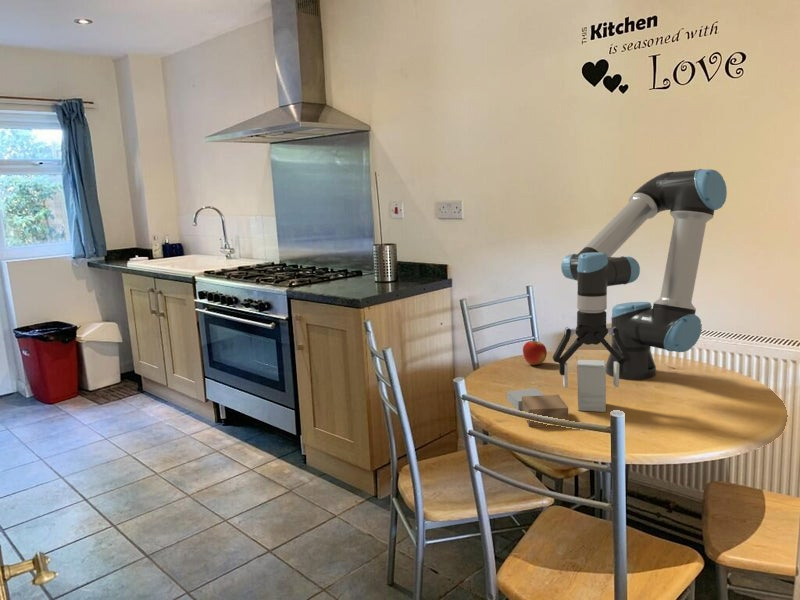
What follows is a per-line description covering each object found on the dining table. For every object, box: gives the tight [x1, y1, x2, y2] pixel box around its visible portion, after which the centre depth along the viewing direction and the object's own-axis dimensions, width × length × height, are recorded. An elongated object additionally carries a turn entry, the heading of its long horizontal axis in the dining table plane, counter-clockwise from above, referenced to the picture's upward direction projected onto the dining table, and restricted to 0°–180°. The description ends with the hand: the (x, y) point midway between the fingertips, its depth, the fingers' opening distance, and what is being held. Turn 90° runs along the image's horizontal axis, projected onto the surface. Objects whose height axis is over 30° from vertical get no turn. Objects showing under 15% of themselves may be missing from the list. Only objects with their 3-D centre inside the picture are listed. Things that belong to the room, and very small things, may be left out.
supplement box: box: [576, 359, 607, 413], centre depth 157 cm, size 7×7×13 cm
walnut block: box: [521, 394, 569, 428], centre depth 152 cm, size 10×10×5 cm
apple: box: [522, 338, 548, 366], centre depth 200 cm, size 8×8×10 cm
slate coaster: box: [506, 387, 545, 411], centre depth 164 cm, size 9×9×3 cm
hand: (590, 386), depth 157 cm, fingers open, 13 cm apart
